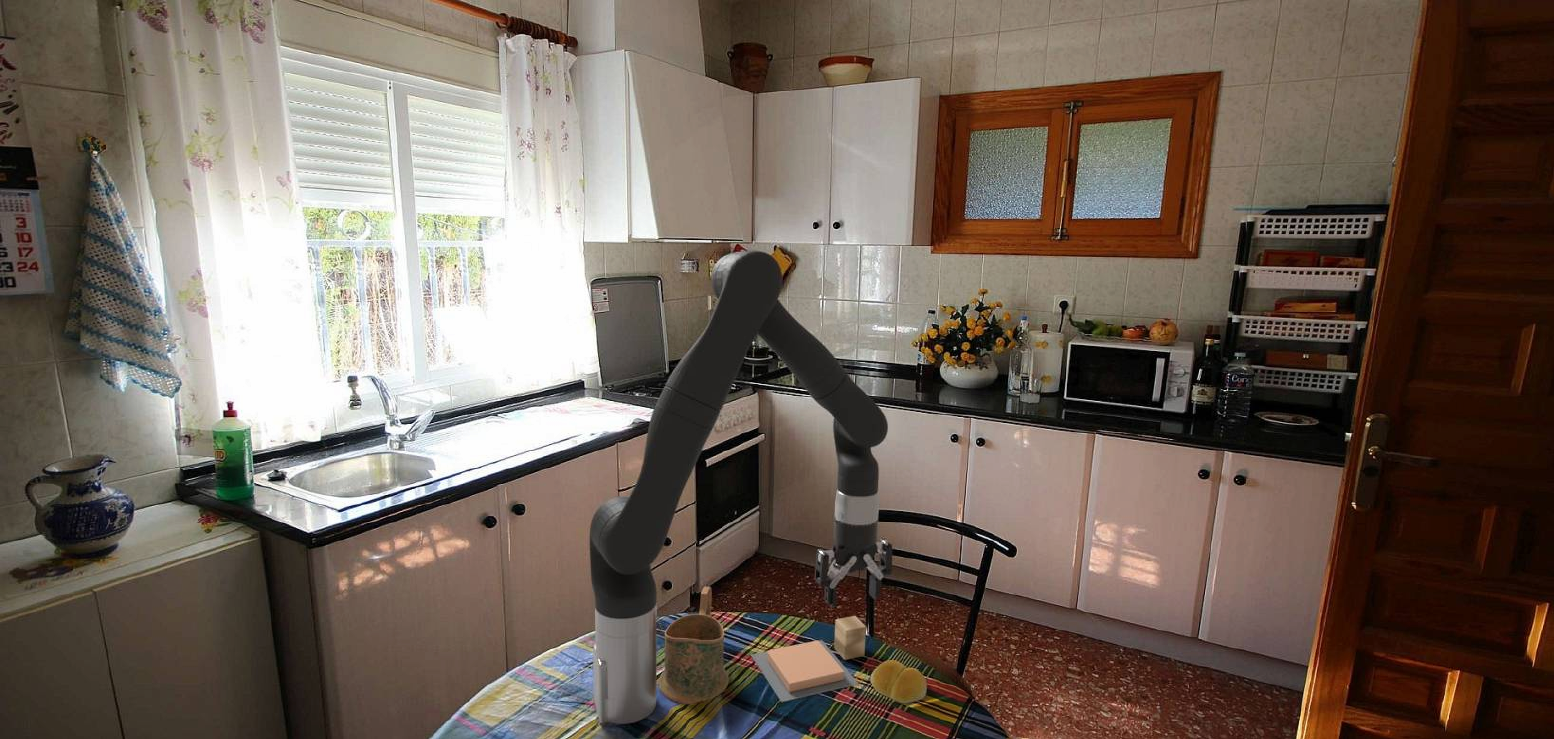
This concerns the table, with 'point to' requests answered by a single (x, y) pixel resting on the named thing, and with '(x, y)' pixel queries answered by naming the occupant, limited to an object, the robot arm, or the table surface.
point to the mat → (786, 695)
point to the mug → (694, 656)
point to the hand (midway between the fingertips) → (852, 601)
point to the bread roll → (899, 682)
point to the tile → (804, 666)
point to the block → (850, 637)
